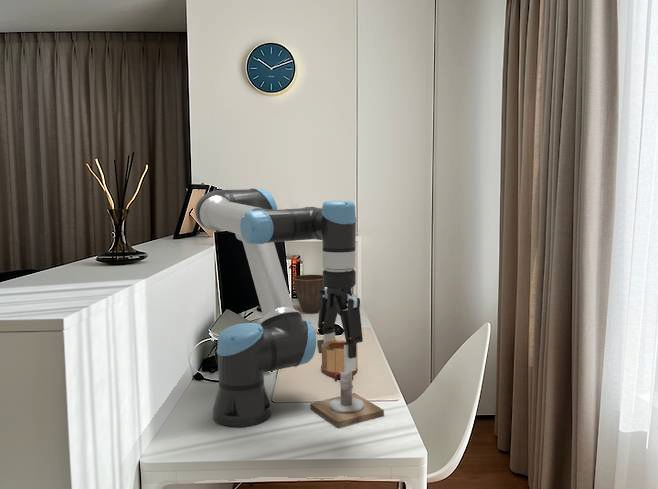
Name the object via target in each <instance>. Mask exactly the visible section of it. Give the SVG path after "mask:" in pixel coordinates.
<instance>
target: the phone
mask: <svg viewBox="0 0 658 489" xmlns="http://www.w3.org/2000/svg"><path fill="white" fill-rule="evenodd" d="M335 341H338V339H335ZM323 343H324V339H318V340H316V344H317V351H318V354H322V344H323Z"/></svg>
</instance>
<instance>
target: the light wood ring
mask: <svg viewBox="0 0 658 489" xmlns="http://www.w3.org/2000/svg"><path fill="white" fill-rule="evenodd" d="M345 342H346V340H345V339H344V340H341V339H340V340H338V339H337V341H329V342H325V343H323V344H322V353H321V365H322V369H324V370H326V371H330V372H339V373H341V372H344V343H345ZM356 368H357V369H358V343H357V344H356ZM322 369H321V370H322Z"/></svg>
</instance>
